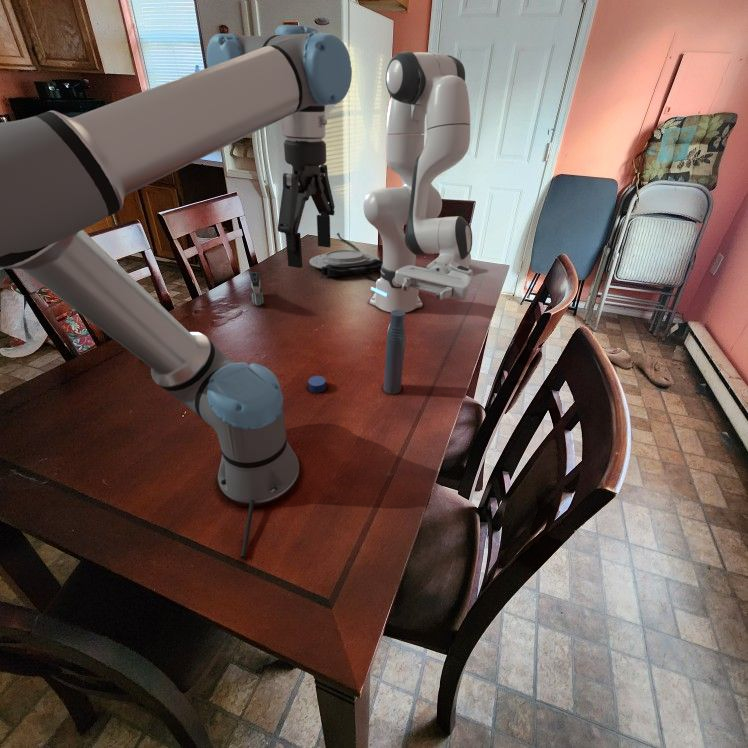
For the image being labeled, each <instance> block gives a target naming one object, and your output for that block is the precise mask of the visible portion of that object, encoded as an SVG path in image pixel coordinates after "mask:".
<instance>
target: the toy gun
mask: <svg viewBox="0 0 748 748" xmlns="http://www.w3.org/2000/svg"><path fill="white" fill-rule="evenodd" d="M249 275H250V289H251V292H252V293H251V298H252V299H251V300H252V301H251V302H252V303H253V305H254V306H258V307H259V306H261V305H264V293H263V292H262V291H263V289H262V282H261V279H260V277H259V272H258V271H251V272H250V274H249Z"/></svg>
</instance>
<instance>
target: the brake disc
mask: <svg viewBox="0 0 748 748" xmlns="http://www.w3.org/2000/svg"><path fill="white" fill-rule="evenodd" d="M309 264H310V266H312V267H313V268H317V269H321V276H323V277H324V276H326V277H330V278H335V277H338V276H339V277H341V276H342V277H344V276H355V275H364V273H366V274H369V273H372V272H379V271H381V266H382V264H383V259H380V258H379V257H378V256H377V255H374V254H370V253H367V252H362V251H361V250H359V251H357V250H356V249H337V250H331V251H328V252H326V253H323V254H319V255H315V256H313V257H311V258H309Z"/></svg>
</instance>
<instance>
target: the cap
mask: <svg viewBox="0 0 748 748" xmlns="http://www.w3.org/2000/svg"><path fill="white" fill-rule="evenodd" d="M307 387H308V390H309V392H311V393H316V394H318V393H322V392H324V391H325V390H326V389H327V380H326V378H325V377H323V376H321V375H313V376H310V377H309V378H308V380H307Z"/></svg>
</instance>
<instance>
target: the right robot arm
mask: <svg viewBox="0 0 748 748" xmlns="http://www.w3.org/2000/svg"><path fill="white" fill-rule="evenodd" d="M385 85H386V88H387V92H388V94H389V96H390V99H389V103H388V110H387V117H386V131H385V133H386V135H385V136H386V137H385V138H386V139H385V141H386V142H385V144H386V145H385V150H386V151H385V161H386V164H387V167H388V168H389V169H390V171H392V172H393V173H395V174H396V175H398V176H399V177H400V179H401V180H400V181H401V185H402V186H399V187H398V186H397V187H382V188H379V189H374V190H371V191H369V192H368V193H367V194H366V196H365V199H364V201H363V214H364V217H365V219H366V220H367V222H368V223H369V224H370V225H371V226H373V227H374V228H375V229H376V230H377V232H378V234H379V236H380V238H381V242H382V260H383V264H382V266H381V270H380V278H374V277H372V276H371V275H369V274H368V273H364V274H363V275H364V276H365V277H367V278H368V279H369V280H372V281H374V282H375V287H373V286H371V287H370V290H371V291H373V292H374V293H373V295H372V296H371V298H370V300H369V304H370V305H373V306H375V307H377V308H378V309H380V310H382V311H384V312H388V313H391V312H392V311H393V310H402V311H404V312H405V313H410V312H412V311H414V310H417V309H419V308H422V307H423V302H422V300H421V298H420V296H419V292H420V291H423V292H427V293H431V294H435V295H436V296H435V299H437V300H440V301H442V300H444V299H447V298H452V299H456V300H460V301H464V300H468V298H469V296H470V292H471V287H472V284H473V275H474V271H473V270H472V269H470V266H471V263H472V255H471V251H472V249H473V230H472V228H471V226H470V224H469V222H468V221H467V220H466V219H465V218H464V217H463V216H460V215H459V216H457V215H455V216H444V217H439V216H440V214H441V211H442V208H443V200H442V199H443V198H442V196H441V193H440V192H439V190H438V189H437V188H436V187H435V186H434V185H433V184H432V182H433V181H434V180H435V179H436V178H437V177H439V176H440V175H441V174H443V173H444V172H446V171H448V170H450V169H451V168H454V167H455V166H456V165H457V164H459V163H460V162H461V161H462V160H463V158H464V157H465V156H466V154H467V152H468V151H469V149H470V142H471V108H470V107H471V106H470V98H469V97H470V96H469V93H468V92H469V91H468V86H467V83H466V70H465V67H464V64H463V63H462V61H461V60H459V58H457V57H455V56H452V55H448V54H447V55H445V54H442V53H438V52H435V51H434V52H433V51H427V52H424V51H423V52H421V51H416V52H415V51H414V52H412V51H411V50H407V51H406V50H405V51H401V52H397V53H395V54H394V55H393V56H392V57H391V58H390V60H389V63H388V65H387V68H386V73H385ZM425 132H426V133H425ZM425 134H426V137H425ZM405 226H406V227H405ZM404 227H405V232H404ZM336 236H337V237H338V239H339V240H340V241H343V242H344V243H346V244H348V245H349V246H351V247H352V248H353V249H354V250H356V251H360V250H359V249H358V248H357V246H355V245H354V244H352V243H351V242H349V241H348V240H346V239H344V238H343V237H341V235H340V232H337V233H336ZM433 254H435V255H438V257H436V258H435V259H433V260H432V261H431V262H429V263H428V264H427V266H426V267H421V266H417V265H416V263H417V256H424V255H425V256H426V255H433Z"/></svg>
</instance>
